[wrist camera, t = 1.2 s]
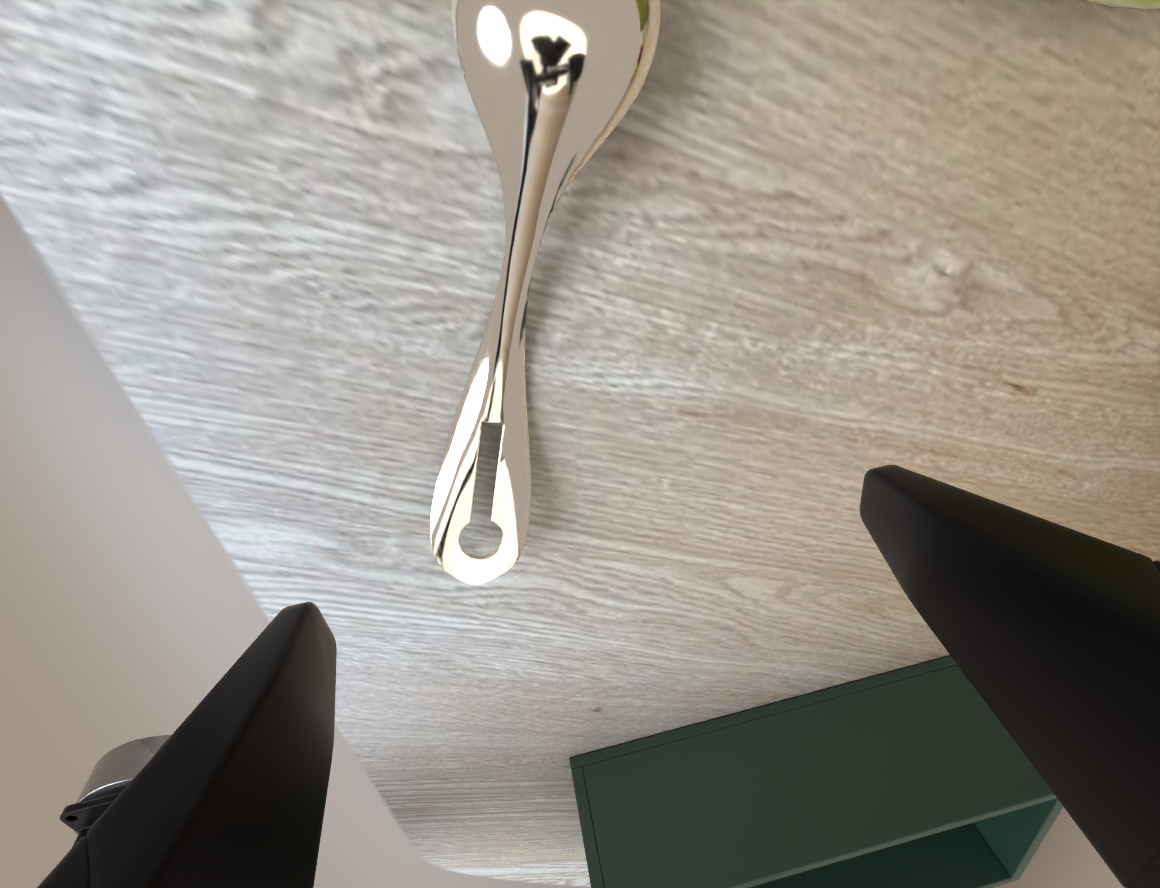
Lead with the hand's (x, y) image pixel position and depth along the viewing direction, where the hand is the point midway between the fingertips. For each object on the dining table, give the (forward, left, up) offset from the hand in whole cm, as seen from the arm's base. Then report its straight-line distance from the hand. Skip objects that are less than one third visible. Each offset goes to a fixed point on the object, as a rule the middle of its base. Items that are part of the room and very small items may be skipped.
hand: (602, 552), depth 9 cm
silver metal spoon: (-1, +1, -11) cm, 11 cm away
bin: (+8, -30, -11) cm, 33 cm away
